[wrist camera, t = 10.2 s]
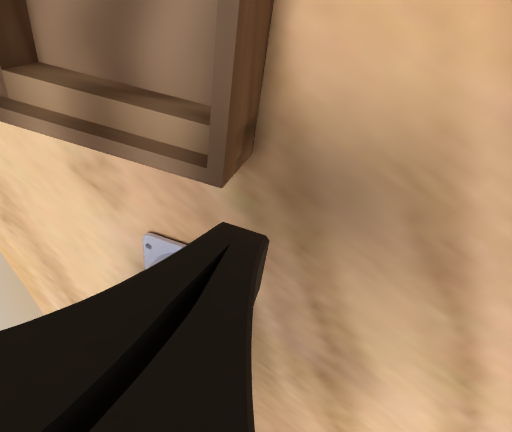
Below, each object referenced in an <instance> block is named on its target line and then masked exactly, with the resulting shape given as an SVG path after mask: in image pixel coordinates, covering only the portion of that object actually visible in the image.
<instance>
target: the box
mask: <svg viewBox="0 0 512 432" xmlns="http://www.w3.org/2000/svg"><path fill="white" fill-rule="evenodd" d="M273 1H274V0H0V121H1V122H4V123H8V124H11V125H14V126H18V127H21V128H24V129H27V130H31V131H34V132H37V133H41V134H44V135H47V136H51V137H54V138H57V139H60V140H64V141H67V142H70V143H74V144H77V145H80V146H84V147H87V148H90V149H93V150H97V151H100V152H103V153H107V154H110V155H113V156H117V157H120V158H123V159H126V160H130V161H133V162H136V163H140V164H143V165H146V166H150V167H153V168H156V169H159V170H163V171H166V172H169V173H173V174H176V175H179V176H183V177H186V178H189V179H193V180H196V181H199V182H202V183H206V184H209V185H212V186H216V187H219V188H223V186H224V185H225V184H226V183H227V182H228V181H229V180H230V178H231V177H232V176H233V175H234V174H235V173H236V171H237V170H238V169H239V168H240V167H241V166H242V165H243V163H244V162H245V161H246V160H247V159H248V158H249V157H250V155H251V154H252V149H253V142H254V135H255V128H256V121H257V114H258V107H259V100H260V93H261V86H262V79H263V72H264V65H265V57H266V50H267V43H268V36H269V29H270V22H271V15H272V8H273Z"/></svg>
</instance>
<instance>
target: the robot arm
mask: <svg viewBox="0 0 512 432" xmlns="http://www.w3.org/2000/svg"><path fill="white" fill-rule="evenodd" d="M268 245H269V239H268V238H267V236H265V235H262V234H259V233H256V232H253V231H250V230H247V229H244V228H241V227H238V226H234V225H231V224H228V223H225V222H222V223H220V224H218V225H217V226H215V227H214V228H212V229H211V230H209V231H208V232H206V233H205V234H203V235H202V236H200V237H199V238H197V239H196V240H194V241H192V242H191V243H189V244H188V245H185V244H182V243H179V242H176V241H173V240H170V239H167V238H164V237H162V236H159V235H156V234H153V233H146V234H145V235H144V236H143V249H144V265H145V270H144V271H142V272H140V273H138V274H136V275H134V276H133V277H131V278H129V279H127V280H125V281H123V282H121V283H119V284H117V285H115V286H113V287H111V288H109V289H107V290H105V291H103V292H100V293H98V294H96V295H94V296H91V297H89V298H87V299H85V300H82V301H80V302H78V303H75V304H73V305H70V306H68V307H65V308H63V309H60V310H57V311H55V312H52V313H50V314H47V315H44V316H42V317H39V318H36V319H34V320H31V321H29V322H26V323H23V324H20V325H17V326H14V327H11V328H8V329H5V330H2V331H0V432H255V428H254V414H253V400H252V373H251V338H252V316H253V306H254V302H255V299H256V297H257V294H258V291H259V288H260V284H261V279H262V274H263V269H264V264H265V259H266V255H267V250H268Z"/></svg>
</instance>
